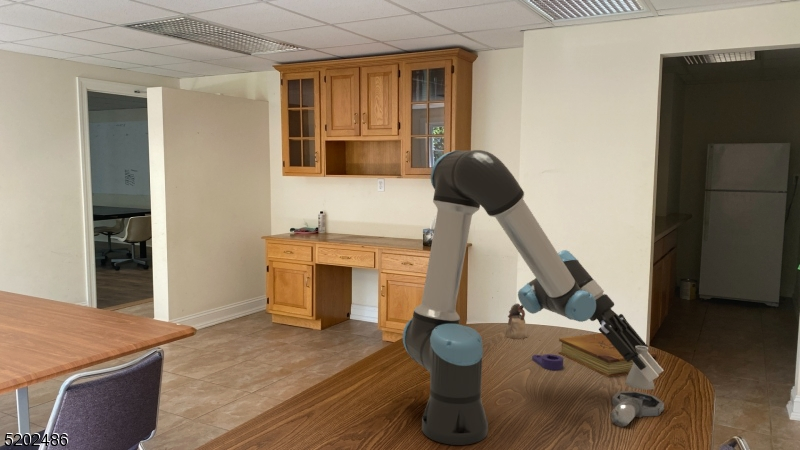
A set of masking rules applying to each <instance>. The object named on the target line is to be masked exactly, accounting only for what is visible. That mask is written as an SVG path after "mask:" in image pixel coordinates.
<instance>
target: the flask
mask: <svg viewBox="0 0 800 450" xmlns="http://www.w3.org/2000/svg"><path fill="white" fill-rule="evenodd" d="M635 349H636V351H637V353H638V355H639V354H641V355H642V356H643V357H644V359H645V360H646V361H647V351H649V346H648V347H646V346H635ZM647 362H648V361H647ZM654 383H655V382H654V380H652V381H651V382H649V381H648V380H647V379H646V377H645V376H644V375H643V374H642V373H641V371H640V370H639V369H638V368H637V367H636V365H635V364H634V363H633V365H632V368H631V370H630V372H629V374H627V375H626V379H625V385H626V386H628V387H629V388H632V389H636V390H637V389H638V390H644V391H645V390H647V391H648V390H655V386H656V385H655V384H654Z"/></svg>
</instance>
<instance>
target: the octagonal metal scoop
mask: <svg viewBox="0 0 800 450" xmlns="http://www.w3.org/2000/svg"><path fill="white" fill-rule="evenodd" d="M611 402H612V403H611V404H612V405H613V406H614V408H613V409H612V410H611V411H610V420H611V421H612V422H613V424H614V425H616V426H617V427H621V428H623V427H624V428H625V427H627V426H628V425H629V424H630V422H631V421H632V420H634V419H635V418H640V419H641V418H642V417H658V416H660V415H661V414H662V413H661V412H663V411H664V410H665V402H664V401H662V400H661V399H660V398H658V397H657V396H655V395H653V394H650V393H645V392H642V391H638V390H628V391H627V390H625V391H624V390H623V391H622V390H621V391H617V392H616V393H615V394H614V395H613V396H612V401H611Z"/></svg>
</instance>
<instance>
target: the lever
mask: <svg viewBox="0 0 800 450" xmlns="http://www.w3.org/2000/svg"><path fill="white" fill-rule="evenodd" d="M531 356H532V357H531V358H532V359H531V360H532V361H533V362H534V363H535V364H537V365H538V366H540V368H543V369H544V370H546V371H551V372H553V371H554V372H555V371H556V372H557V371H558V372H559V371H561V370H563V369H564V356H563V357H562V355H558V354H551V353H550V354H548V353H547V354H543V355H541V354H533V355H531Z"/></svg>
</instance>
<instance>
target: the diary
mask: <svg viewBox="0 0 800 450" xmlns="http://www.w3.org/2000/svg"><path fill="white" fill-rule="evenodd" d="M558 341H559V342H560V343H561V351H558V354H559V355H560V356H563V357H565V358H567V359H569V360H572V361H573V362H576V363H577V364H580V365H581V366H583V367H586V368H587V369H590V370H592V371H594V372H596V373H599V374H600V375H603V376H604V377H606V378H613V376H615V377H619V376H618V375H621V376H625V375H624V374H627V375H628V374H629V372H630V370H631V368H632V365H633V362H632V361H629V362H627V361H626V360H625V359H624V357H623V356H622V355H621V354H620V353H619V352H618V350H617V349H616V348H615V347H614V346H613V345H612V343H611V342H610V341H609V340H608V339H607V338H606V336H604V335H603V334H602V333H601V332H600V333H591V334H583V335H576V336H566V337H559V338H558ZM648 353H649V354H650V355H651V356H652V357H653V358H654V360H655V361H656V362H657V363H658V360H659V359H658V358H659V355H658V354H657V353H656V352H653V351H651V350H648ZM658 364H659V363H658Z"/></svg>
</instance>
